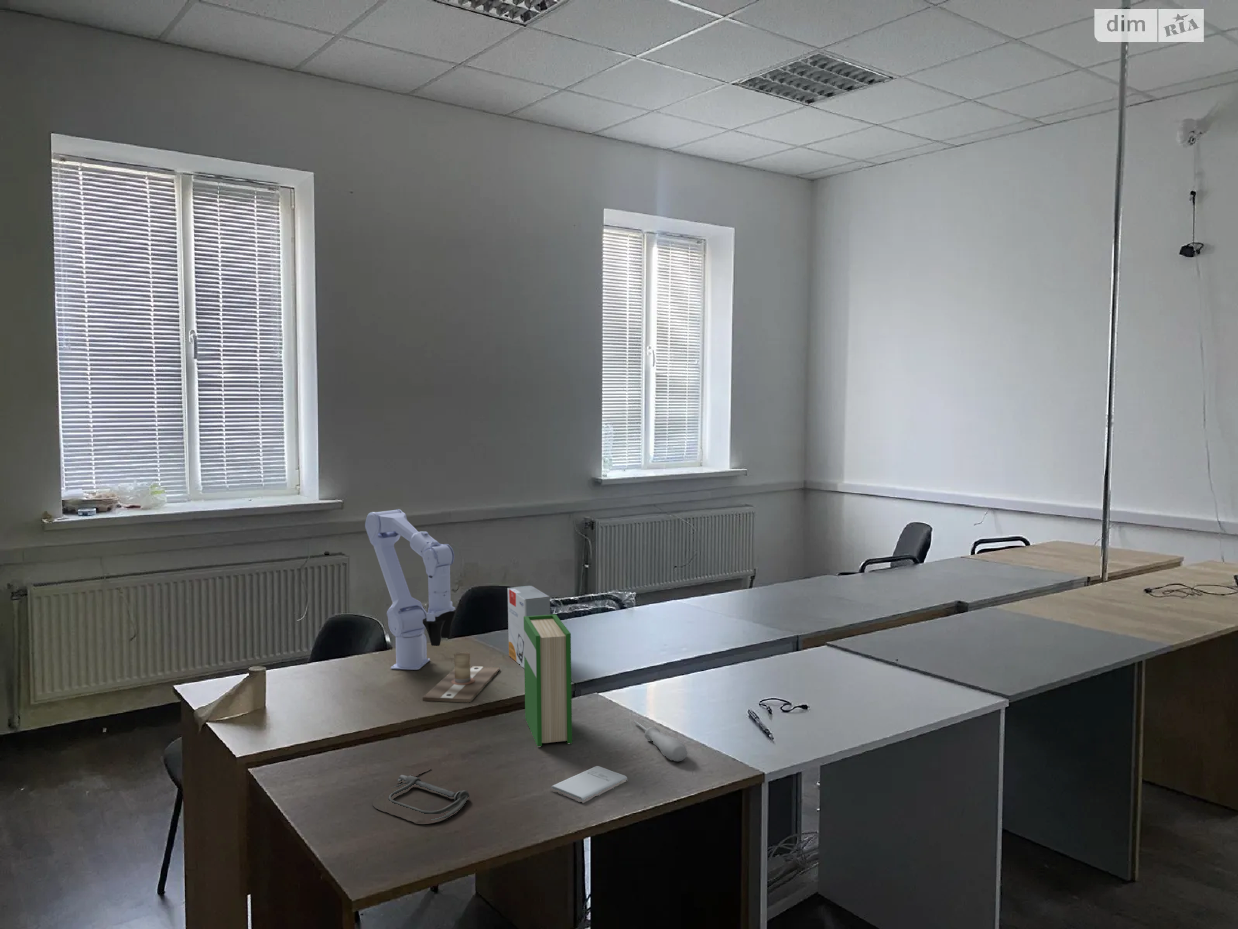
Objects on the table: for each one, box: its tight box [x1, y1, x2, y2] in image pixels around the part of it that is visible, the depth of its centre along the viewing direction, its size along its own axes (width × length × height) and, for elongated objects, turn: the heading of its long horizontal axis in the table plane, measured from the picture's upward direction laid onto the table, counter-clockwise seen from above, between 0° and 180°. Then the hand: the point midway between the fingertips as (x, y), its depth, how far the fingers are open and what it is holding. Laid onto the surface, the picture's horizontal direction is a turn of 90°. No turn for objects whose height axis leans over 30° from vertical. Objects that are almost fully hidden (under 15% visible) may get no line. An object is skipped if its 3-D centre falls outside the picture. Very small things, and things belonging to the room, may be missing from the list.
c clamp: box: [388, 774, 470, 820], centre depth 166 cm, size 20×17×3 cm
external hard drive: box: [550, 765, 628, 801], centre depth 170 cm, size 2×8×12 cm
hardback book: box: [523, 613, 573, 747], centre depth 198 cm, size 18×7×24 cm, turn 14°
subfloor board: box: [422, 665, 501, 703], centre depth 232 cm, size 26×12×1 cm, turn 172°
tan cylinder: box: [453, 651, 471, 683], centre depth 231 cm, size 4×4×7 cm
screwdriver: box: [632, 719, 688, 762], centre depth 191 cm, size 5×25×4 cm, turn 21°
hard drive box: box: [507, 585, 551, 669], centre depth 251 cm, size 16×8×20 cm, turn 25°
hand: (440, 641), depth 238 cm, fingers open, 7 cm apart
